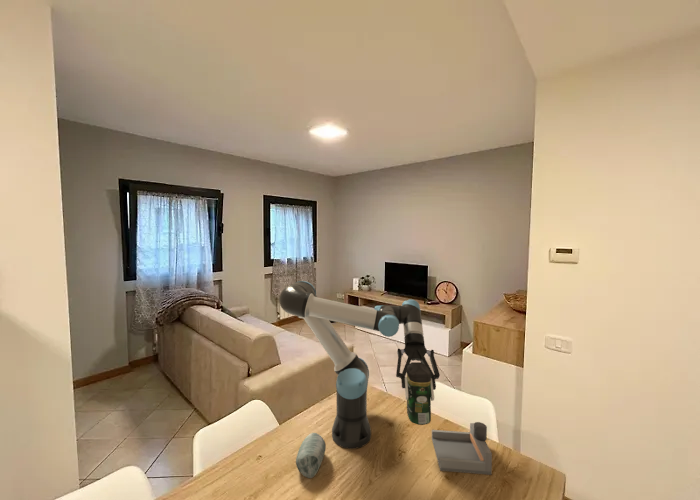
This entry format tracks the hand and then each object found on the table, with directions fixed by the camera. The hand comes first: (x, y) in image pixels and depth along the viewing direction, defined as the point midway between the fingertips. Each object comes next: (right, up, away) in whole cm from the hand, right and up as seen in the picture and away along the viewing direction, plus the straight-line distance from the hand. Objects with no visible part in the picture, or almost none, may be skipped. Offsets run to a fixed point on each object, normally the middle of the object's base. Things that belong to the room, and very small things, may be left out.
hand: (419, 398), depth 96 cm
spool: (-37, -21, -2) cm, 43 cm away
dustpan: (+14, -21, +2) cm, 26 cm away
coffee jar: (0, -9, +4) cm, 10 cm away
